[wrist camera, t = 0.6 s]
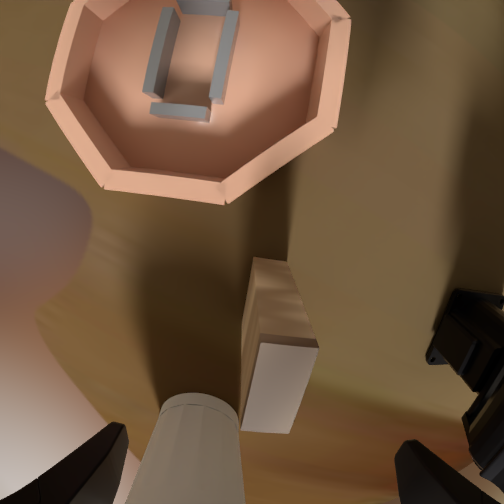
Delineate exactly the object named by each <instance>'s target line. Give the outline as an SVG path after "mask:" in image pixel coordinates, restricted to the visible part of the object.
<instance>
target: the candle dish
mask: <svg viewBox="0 0 504 504" xmlns="http://www.w3.org/2000/svg"><path fill="white" fill-rule="evenodd" d="M73 1H74V2H73V3H71V4H70V7H69V10H68V13H67V16H66V19H65V22H64V25H63V28H62V31H61V34H60V38H59V41H58V45H57V48H56V52H55V56H54V60H53V64H52V68H51V72H50V77H49V81H48V86H47V91H46V96H45V100H46V101H47V102H46V103H45V104H46V105H47V107H48V109H49V110H50V112H51V114H52V115H53V117H54V118H55V120H56V122H57V123H58V125H59V126H60V128H61V129H62V131H63V132H64V134H65V135H66V137H67V139H68V140H69V142H70V143H71V145H72V146H73V148H74V149H75V151H76V152H77V154H78V155H79V157H80V158H81V159H82V161H83V162H84V164H85V165H86V167H87V168H88V170H89V171H90V173H91V174H92V175H93V177H94V178H95V180H96V181H97V182H98V184H99V185H100V187H104V189H106V190H115V191H124V192H132V193H140V194H148V195H156V196H164V197H171V198H179V199H186V200H193V201H200V202H207V203H214V204H220V205H224V204H225V202H227V203H228V204H229V203H230V202H232V201H233V200H235V199H236V198H237V197H239V196H240V195H241V194H243V193H244V192H246V191H247V190H249V189H250V188H251V187H253V186H254V185H256V184H257V183H258V182H260V181H261V180H263V179H264V178H266V177H267V176H268V175H270V174H271V173H273V172H274V171H276V170H277V169H279V168H280V167H282V166H283V165H284V164H286V163H287V162H289V161H290V160H292V159H293V158H295V157H296V156H298V155H299V154H301V153H302V152H304V151H305V150H307V149H308V148H310V147H311V146H313V145H314V144H316V143H317V142H319V141H320V140H322V139H323V138H325V137H326V136H328V135H329V134H331V133H333V132H334V130H333V129H335V128H337V123H338V117H339V110H340V104H341V97H342V91H343V84H344V77H345V70H346V62H347V55H348V47H349V38H350V30H351V21H352V20H350V19H349V18H350V16H349V14H348V13H347V12H346V11H345V10H344V9H343V7H342V6H341V5H340V4H339V3H338V2H337V1H336V0H73Z"/></svg>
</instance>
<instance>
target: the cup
mask: <svg viewBox="0 0 504 504" xmlns="http://www.w3.org/2000/svg"><path fill="white" fill-rule="evenodd" d="M238 423H239V421H238V416H237V414H236V412H235V411H234V409H233V408H232V407H231V406H230V405H229V404H227V403H226V402H224V401H223V400H221V399H219V398H216V397H214V396H211V395H207V394H202V393H183V394H178V395H175V396H173V397H171V398H169V399H168V400H167V401H166V402H165V403H164V404H163V405H162V408H161V411H160V414H159V418H158V421H157V423H156V426H155V428H154V431H153V433H152V436H151V438H150V441H149V444H148V446H147V449H146V451H145V454H144V456H143V459H142V461H141V464H140V467H139V469H138V472H137V474H136V477H135V480H134V482H133V485H132V488H131V490H130V492H129V495H128V497H127V500H126V502H125V504H245V495H244V486H243V476H242V466H241V456H240V446H239V435H238Z"/></svg>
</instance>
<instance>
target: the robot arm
mask: <svg viewBox="0 0 504 504" xmlns="http://www.w3.org/2000/svg"><path fill="white" fill-rule="evenodd" d="M458 294H459V296H458ZM457 296H458V297H457ZM503 305H504V296H503V295H502V294H497V293H490V292H482V291H475V290H468V289H461V288H457V289H455V290H454V291H453V293H452V296H451V299H450V301H449V304H448V307H447V309H446V312H445V314H444V317H443V319H442V322H441V324H440V327H439V329H438V332H437V334H436V336H435V339H434V341H433V343H432V345H431V348H430V350H429V352H428V354H427V356H426V362H427V363H428V364H429V365H443V364H449V365H450V366H451V368H452V369H453V370H454V371H455V372H456V374H457V375H459V376H460V377H461V378H462V379H463V380H464V382H465V383H466V384H467V385H468V386H469V388H470V389H471V390H472V391H473V392H476V393H477V394H478V396H477V398H476V399H475V401H474V402H473V404H472V405H471V407H470V408H469V410H468V411H466V412H465V414H464V415H463V416H462V422H463V425H464V428H465V432H466V436H467V439H468V443H469V453H470V454H471V456H472V458H473V461H474V462H475V464H476V465H477V466H478V467H479V469H480V470H482V471H481V472H480V476H481V477H483V478H485V479H487V480H489V481H491V482H492V483H494V484H495V485H496V486H497V487H499V488H500V489H501V491H502V492H503V493H504V312H503V311H502V308H503ZM431 358H432V359H431ZM128 444H129V440H128V435H127V430H126V426H125V425H124V424H121V423H117V422H111V423H110V424H108V425H107V426H106V427H105V428H103V429H102V430H101V431H100V432H98V433H97V434H95V435H94V436H93V437H92V438H90V439H89V440H88V441H86V442H85V443H84V444H82V445H81V446H80V447H78V448H77V449H76V450H74V451H73V452H72V453H70V454H69V455H68V456H67V457H65V458H64V459H63V460H61V461H60V462H58V463H57V464H56V465H54V466H53V467H52V468H50V469H49V470H47V471H46V472H45V473H43V474H42V475H40V476H39V477H38V479H35V480H33V481H32V482H31V483H29V484H28V485H26V486H25V487H23V488H22V489H20V490H18V491H17V492H15V493H13V494H11V495H9V496H7V497H6V498H4V499H1V500H0V504H113V501H114V498H115V496H116V493H117V490H118V487H119V484H120V480H121V475H122V471H123V466H124V462H125V458H126V453H127V449H128ZM395 468H396V475H397V483H398V491H399V497H400V502H401V504H501V503H499V502H497V501H496V500H495V499H493V498H492V497H490V496H489V495H487V494H486V493H485V492H483V491H481V489H479V488H478V487H477V486H475V485H474V484H473V483H471V482H470V481H469V480H467V479H466V478H465V477H463V476H462V475H461V474H460V473H458V472H457V471H456V470H454V469H453V468H452V467H451V466H449V465H448V464H447V463H445V462H444V461H443V460H442V459H440V458H439V457H438V456H437V455H435V454H434V453H433V452H431V451H430V450H429V449H428V448H426V447H425V446H424V445H423V444H421V443H420V442H419V441H418V440H416V439H412V440H406V441H405V442H404V443H403V444H402V446H401V447H400V449H399V450H398V452H397V453H396V455H395Z"/></svg>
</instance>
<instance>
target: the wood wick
mask: <svg viewBox="0 0 504 504" xmlns="http://www.w3.org/2000/svg"><path fill="white" fill-rule="evenodd" d="M318 351H319V346H318V343H317V341H316V338H315V335H314V332H313V330H312V327H311V324H310V321H309V319H308V316H307V313H306V311H305V308H304V305H303V303H302V300H301V297H300V295H299V292H298V289H297V287H296V284H295V281H294V279H293V276H292V274H291V271H290V268H289V266H288V263H287V262H285V261H278V260H272V259H265V258H259V257H253V263H252V268H251V274H250V279H249V285H248V291H247V296H246V302H245V308H244V313H243V319H242V340H241V430H243V431H254V432H268V433H287V434H289V432H290V429H291V427H292V424H293V422H294V419H295V416H296V414H297V411H298V408H299V406H300V403H301V400H302V398H303V395H304V392H305V389H306V386H307V384H308V381H309V378H310V375H311V372H312V369H313V366H314V363H315V360H316V357H317V354H318Z"/></svg>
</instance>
